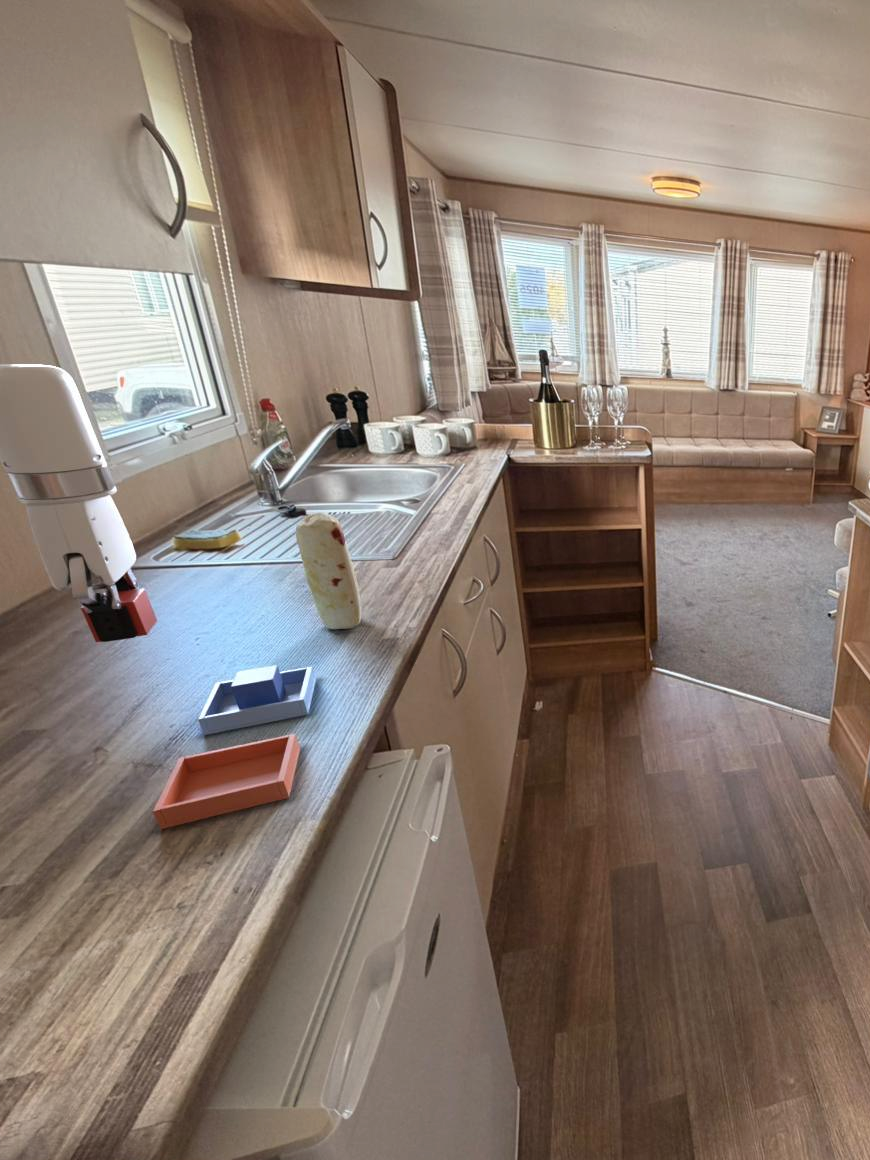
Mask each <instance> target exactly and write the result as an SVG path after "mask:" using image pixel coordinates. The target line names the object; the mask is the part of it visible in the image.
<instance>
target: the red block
mask: <svg viewBox="0 0 870 1160" xmlns="http://www.w3.org/2000/svg"><path fill="white" fill-rule="evenodd" d="M102 593H103V592H102ZM103 594H105V595H106V596H107V597H108V595H107V592H104V593H103ZM118 595H119V598H120V602H121V606H127V609H128V611H129V613H130V616H131V618H132V620H133V623H134V625H135V628H136V630H137V632H138V634H137V636H136V637H137V638H138V637H143V636H147V635H148V634H149V633H150V631H151V630H152V629H153V628H154V626H155V625H156V623H157V622H158V619H157V616H156V614H155V612H154V609H153V606H152V604H151V601H150V598H149V596H148V594H147V591H146V589H145V588H138V589H135V590H127V591H118ZM80 610H81V612H82V614H83V617H84V619H85V621H86V624H87V625H88V628H89V630H90V632H91V635H92V637H93V639H94V641H95V642H96V643H102V642H101V641H100V640H99V638H98V636H97V633H96V631H95V629H94V627H93V625H92V622H91V620H90V618H89V616H88V613H86V612H85V610H84V607H83V605H82V606H81V607H80ZM136 637H135V638H136Z"/></svg>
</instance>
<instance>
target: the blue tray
mask: <svg viewBox="0 0 870 1160" xmlns="http://www.w3.org/2000/svg"><path fill="white" fill-rule="evenodd" d="M280 674H281V677H282V680H283V683H284V686H285V689H286V693H285V697H284V700H283V702H278V703H272V704H267V705H262V706H257V707H251V708H246V709H241V710H239V708H238V705H237V702H236V700H235V697H234V694H233V691H232V689H231V685H232V683H233V681H234V679H230V680H224V681H218V682H215V684H214V686H213V688H212V690H211V692H210V694H209V696H208V698H207V700H206V702H205V705H203V708H202V710H201V711H200V714H199V717H198V718H197V721H198V724H199V726H200V729H201V731H202V734H203V736H207V735H212V734H217V733H222V732H228V731H232V730H237V729H242V728H247V727H253V726H258V725H263V724H268V723H272V722H277V721H282V720H288V719H292V718H298V717H302V716H308V715H309V713H310V708H311V705H312V704H311V703H312V700H313V695H314V692H315V687H316V682H317V679H316V675H315V672H314V669H313V666H306V667H300V668H295V669H289V670H288V669H287V670H284V671H280Z"/></svg>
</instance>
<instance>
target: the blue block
mask: <svg viewBox="0 0 870 1160" xmlns="http://www.w3.org/2000/svg"><path fill="white" fill-rule="evenodd" d="M280 672H281V671H280V668H279V665H278V664H275V665H269V666H268V665H267V666H263V667H256V668H250V669H244V670H239V671H237V672H236V674H235V676H234V679H233V680H234V681H233V683H232V685H231V689H232V691H233V694H234V697H235V700H236V702H237V705H238V708H239V710H241V709H246V708H251V707H257V706H262V705H267V704H272V703H278V702H283V700H284V697H285V693H286V689H285V686H284V683H283V680H282V677H281V674H280Z"/></svg>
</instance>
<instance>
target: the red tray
mask: <svg viewBox="0 0 870 1160" xmlns="http://www.w3.org/2000/svg"><path fill="white" fill-rule="evenodd" d="M300 752H301V748H300V744H299V741H298V738H297V735H296V733H290V734H287V735H286V734H285V735H282V736H277V737H271V738H268V739H262V740H258V741H252V742H250V743H244V744H238V745H234V746H229V747H223V748H220V749H215V750H209V751H204V752H201V753H195V754H190V755H186V756H180V757H178V758H177V761H176V763H175V765H174V767H173V769H172V771H171V772H170V775H169V777H168V779H167V781H166V783H165V786H164V787H163V789H162V791H161V794H160V796H159V798H158V800H157V801H156V804H155V806H154V807H153V810H152V814H153V816H154V819H155V820H156V822H157V825H158V826H159V828H160V830H164V829H168V828H172V827H176V826H180V825H184V824H188V823H193V822H196V821H200V820H204V819H205V820H206V819H209V818H212V817H215V816H220V815H225V814H229V813H232V812H233V813H234V812H237V811H241V810H245V809H248V808H254V807H257V806H260V805H265V804H269V803H273V802H277V801H282V800H284V799H285V800H286V799H289V798H290V795H291V791H292V787H293V783H294V779H295V775H296V770H297V766H298V761H299V757H300Z"/></svg>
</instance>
